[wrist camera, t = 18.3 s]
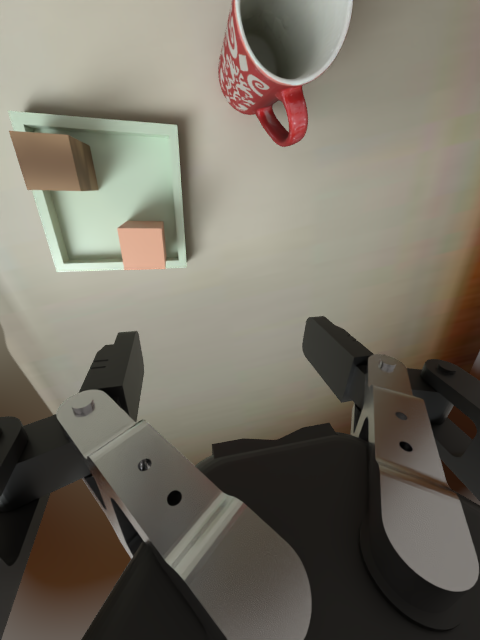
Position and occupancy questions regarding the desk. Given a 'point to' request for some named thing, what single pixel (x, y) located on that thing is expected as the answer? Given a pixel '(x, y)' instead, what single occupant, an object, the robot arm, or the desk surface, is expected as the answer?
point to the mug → (279, 57)
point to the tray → (111, 190)
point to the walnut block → (54, 162)
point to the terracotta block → (142, 245)
